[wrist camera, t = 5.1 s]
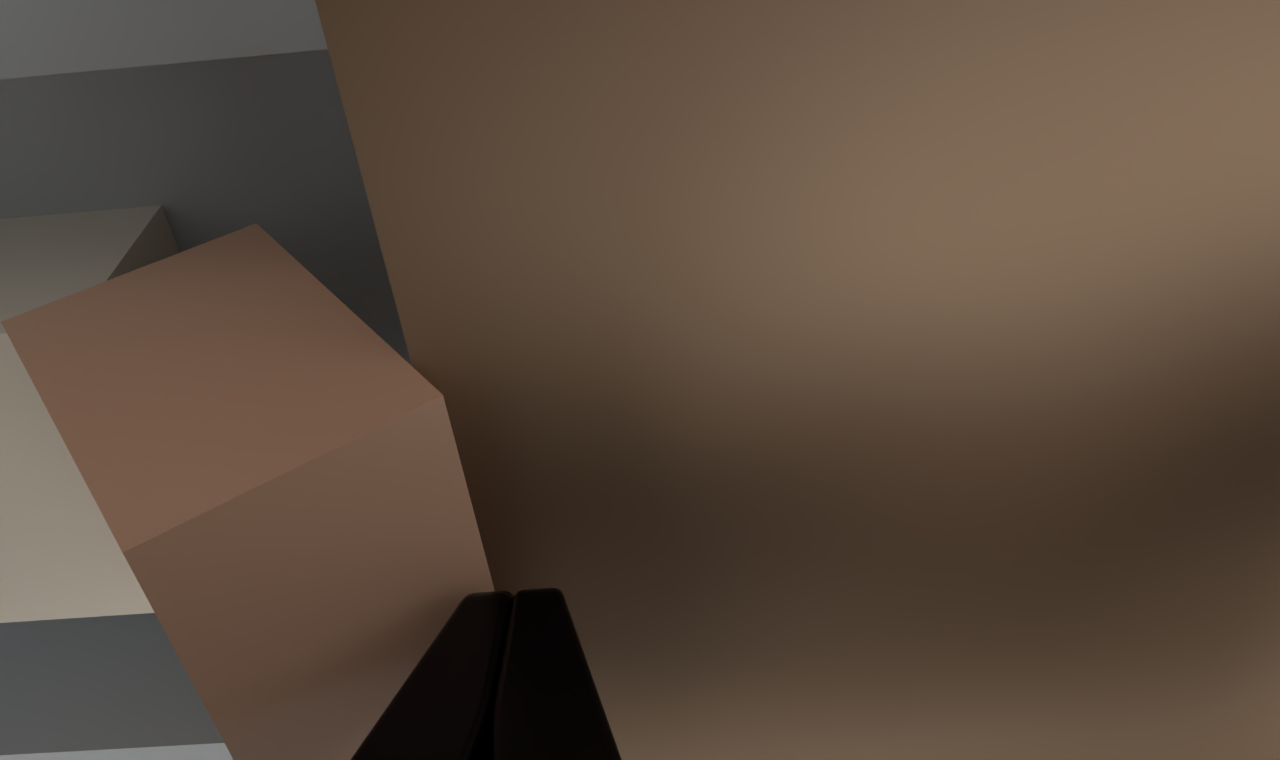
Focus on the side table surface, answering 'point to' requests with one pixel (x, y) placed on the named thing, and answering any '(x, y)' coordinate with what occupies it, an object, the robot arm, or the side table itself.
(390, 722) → the robot arm
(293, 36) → the tray
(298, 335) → the tile front
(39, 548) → the tile rear
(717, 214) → the stepped beige slab
